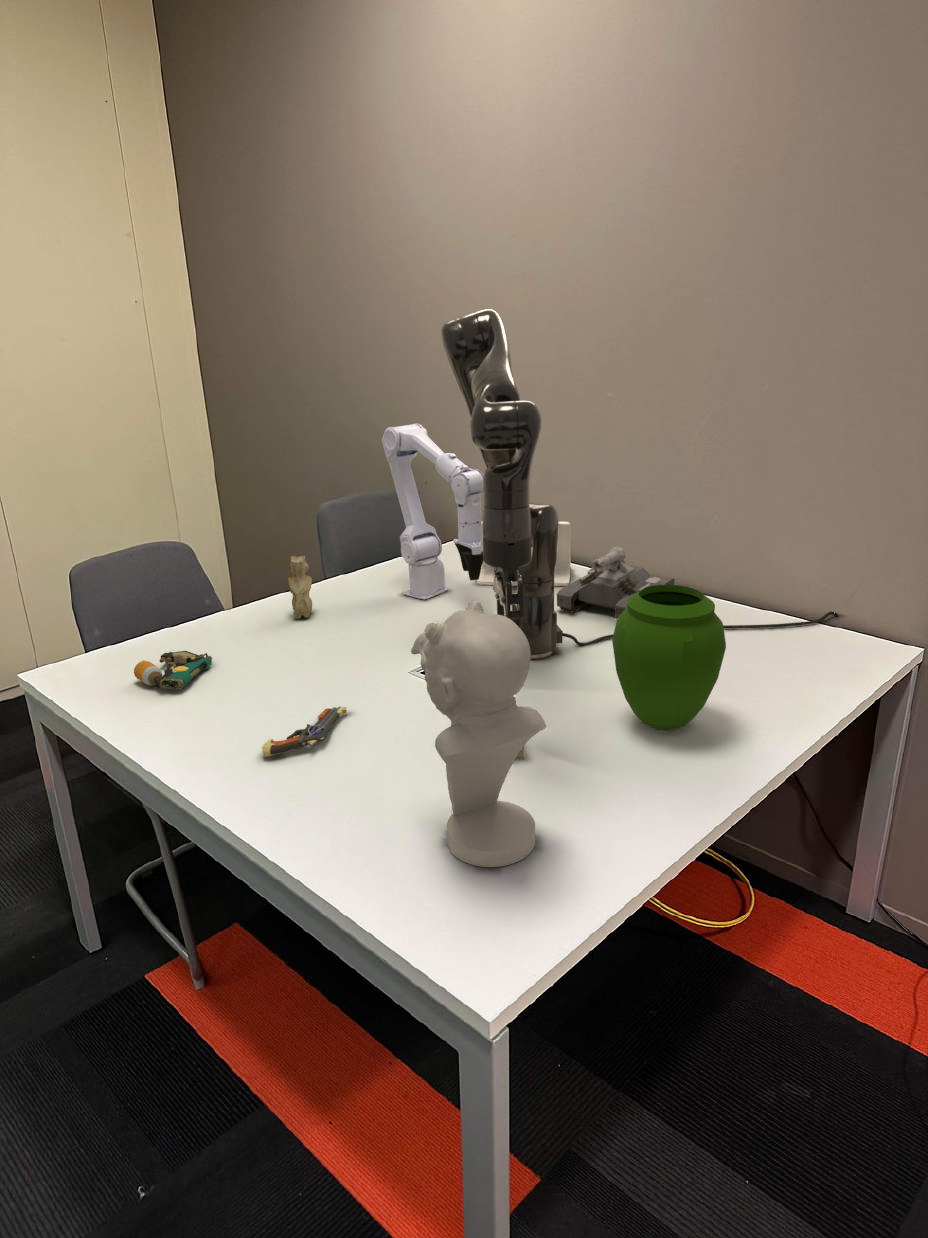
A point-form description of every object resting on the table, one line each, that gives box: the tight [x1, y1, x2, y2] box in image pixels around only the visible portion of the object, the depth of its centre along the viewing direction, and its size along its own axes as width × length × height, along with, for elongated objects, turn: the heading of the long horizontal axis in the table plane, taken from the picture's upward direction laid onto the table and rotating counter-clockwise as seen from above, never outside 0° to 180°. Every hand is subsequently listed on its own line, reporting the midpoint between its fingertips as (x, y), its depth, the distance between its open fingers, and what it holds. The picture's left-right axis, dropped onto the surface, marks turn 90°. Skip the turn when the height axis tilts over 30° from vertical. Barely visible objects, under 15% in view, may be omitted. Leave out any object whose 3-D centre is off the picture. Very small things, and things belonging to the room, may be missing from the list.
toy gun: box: [261, 705, 348, 758], centre depth 154 cm, size 3×19×10 cm
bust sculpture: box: [410, 599, 547, 868], centre depth 121 cm, size 16×24×35 cm
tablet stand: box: [476, 520, 572, 587], centre depth 236 cm, size 18×25×17 cm
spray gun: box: [133, 650, 213, 690], centre depth 180 cm, size 4×17×15 cm
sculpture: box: [287, 554, 313, 619], centre depth 211 cm, size 6×7×15 cm
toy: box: [556, 546, 676, 620], centre depth 212 cm, size 25×20×15 cm
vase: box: [611, 584, 727, 731], centre depth 151 cm, size 20×20×24 cm
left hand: (471, 574), depth 210 cm, fingers open, 7 cm apart
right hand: (508, 630), depth 138 cm, fingers open, 8 cm apart
